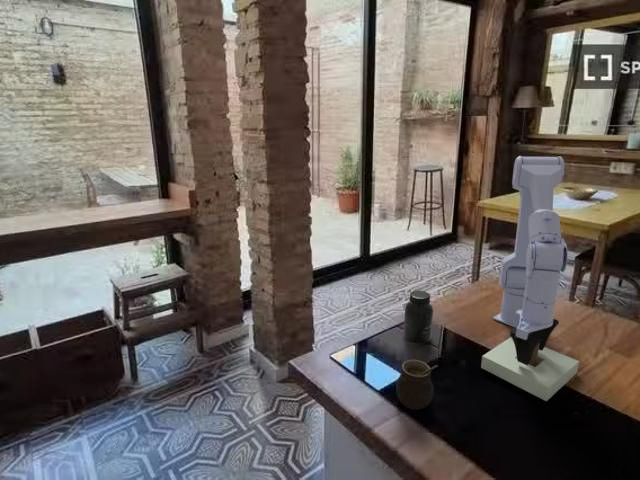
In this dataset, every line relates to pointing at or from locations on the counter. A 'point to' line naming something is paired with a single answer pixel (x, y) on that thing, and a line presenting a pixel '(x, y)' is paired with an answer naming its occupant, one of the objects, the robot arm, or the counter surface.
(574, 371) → the socket block
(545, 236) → the robot arm
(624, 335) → the counter surface
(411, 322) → the supplement bottle
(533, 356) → the dowel
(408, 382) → the mate gourd
